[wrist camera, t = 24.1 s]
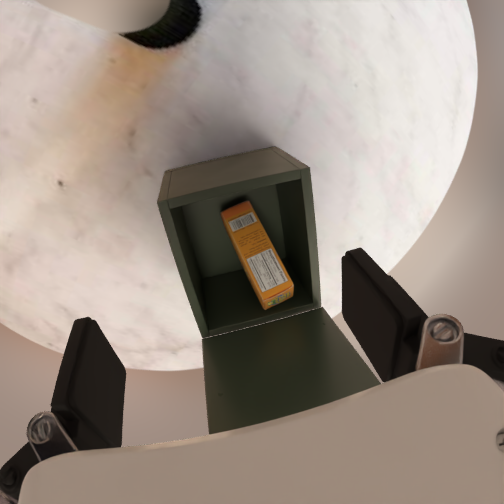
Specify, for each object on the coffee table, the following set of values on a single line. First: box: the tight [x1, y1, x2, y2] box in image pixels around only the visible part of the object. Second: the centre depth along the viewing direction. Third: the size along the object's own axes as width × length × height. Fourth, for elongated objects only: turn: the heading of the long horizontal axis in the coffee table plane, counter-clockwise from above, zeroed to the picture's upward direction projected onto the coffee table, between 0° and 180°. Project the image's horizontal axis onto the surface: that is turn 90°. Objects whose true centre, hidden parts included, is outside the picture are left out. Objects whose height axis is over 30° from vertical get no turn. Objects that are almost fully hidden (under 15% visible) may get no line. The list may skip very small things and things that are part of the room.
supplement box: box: [220, 201, 294, 310], centre depth 31 cm, size 3×3×10 cm
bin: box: [157, 147, 321, 338], centre depth 31 cm, size 14×12×10 cm
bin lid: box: [202, 307, 381, 435], centre depth 23 cm, size 14×12×5 cm
